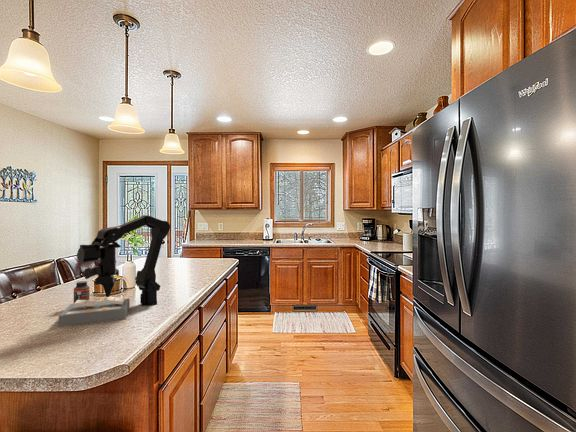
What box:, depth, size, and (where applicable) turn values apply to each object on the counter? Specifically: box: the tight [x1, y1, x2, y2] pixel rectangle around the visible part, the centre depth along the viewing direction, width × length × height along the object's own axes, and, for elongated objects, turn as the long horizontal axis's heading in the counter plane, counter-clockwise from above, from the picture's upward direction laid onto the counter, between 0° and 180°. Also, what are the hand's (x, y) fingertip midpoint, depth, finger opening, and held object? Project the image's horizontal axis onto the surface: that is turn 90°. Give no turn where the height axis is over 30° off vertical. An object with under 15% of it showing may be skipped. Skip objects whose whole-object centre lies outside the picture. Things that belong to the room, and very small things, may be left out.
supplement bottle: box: [73, 280, 91, 304], centre depth 137 cm, size 6×6×11 cm
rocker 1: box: [73, 299, 98, 306], centre depth 124 cm, size 7×5×1 cm
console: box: [58, 298, 131, 327], centre depth 125 cm, size 22×16×5 cm
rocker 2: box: [103, 296, 125, 305], centre depth 127 cm, size 7×5×1 cm
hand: (107, 296), depth 127 cm, fingers closed
